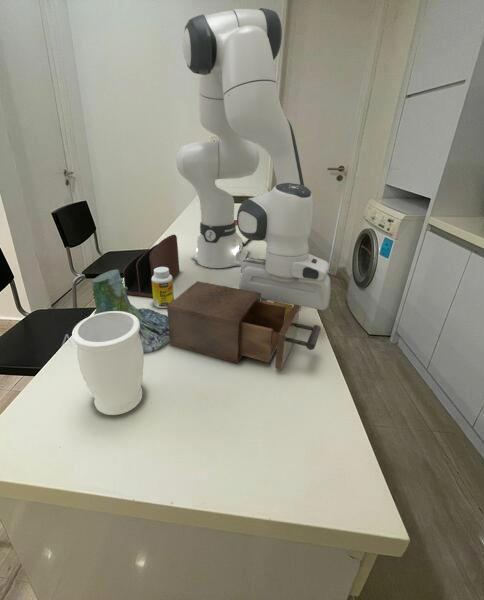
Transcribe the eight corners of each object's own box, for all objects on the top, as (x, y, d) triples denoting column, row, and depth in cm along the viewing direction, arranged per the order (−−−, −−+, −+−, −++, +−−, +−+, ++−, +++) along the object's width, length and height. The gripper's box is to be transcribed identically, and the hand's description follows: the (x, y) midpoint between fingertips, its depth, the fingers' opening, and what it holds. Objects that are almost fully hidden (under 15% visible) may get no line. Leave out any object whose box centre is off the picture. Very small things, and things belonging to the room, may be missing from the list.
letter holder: (180, 272, 110) (177, 231, 104) (156, 298, 94) (151, 250, 87) (152, 270, 113) (148, 229, 107) (125, 294, 97) (118, 248, 90)
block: (272, 317, 82) (274, 301, 80) (290, 320, 80) (292, 304, 78) (267, 325, 79) (269, 309, 77) (286, 329, 77) (288, 313, 75)
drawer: (319, 342, 70) (325, 309, 67) (308, 377, 60) (314, 341, 57) (233, 322, 79) (234, 292, 75) (211, 350, 69) (210, 318, 65)
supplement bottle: (159, 311, 87) (156, 275, 82) (150, 303, 91) (146, 268, 87) (177, 305, 90) (175, 270, 85) (167, 297, 94) (165, 263, 89)
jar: (129, 428, 53) (116, 351, 46) (76, 412, 56) (56, 338, 49) (158, 384, 62) (150, 314, 55) (110, 373, 65) (98, 306, 58)
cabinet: (258, 330, 77) (261, 292, 73) (237, 363, 66) (238, 321, 62) (198, 316, 84) (197, 281, 79) (169, 344, 73) (166, 305, 69)
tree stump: (167, 362, 68) (136, 287, 60) (84, 372, 74) (45, 305, 66) (183, 314, 84) (160, 249, 76) (114, 326, 89) (85, 267, 81)
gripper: (236, 260, 74) (234, 314, 81) (332, 274, 66) (322, 333, 72) (245, 252, 79) (243, 303, 86) (336, 264, 71) (326, 319, 77)
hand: (280, 317), depth 79 cm, fingers closed on block, 4 cm apart
